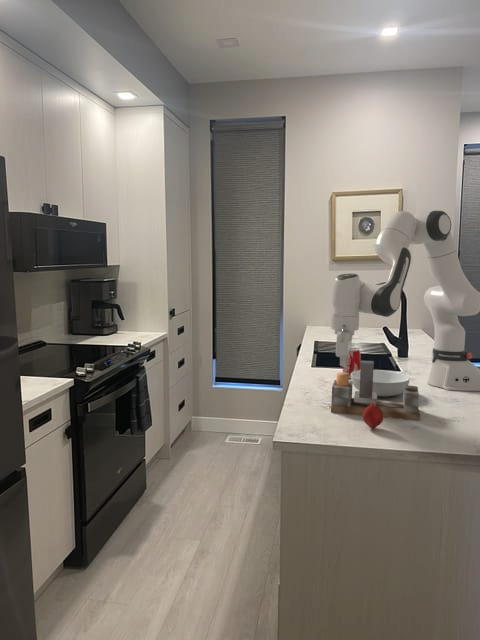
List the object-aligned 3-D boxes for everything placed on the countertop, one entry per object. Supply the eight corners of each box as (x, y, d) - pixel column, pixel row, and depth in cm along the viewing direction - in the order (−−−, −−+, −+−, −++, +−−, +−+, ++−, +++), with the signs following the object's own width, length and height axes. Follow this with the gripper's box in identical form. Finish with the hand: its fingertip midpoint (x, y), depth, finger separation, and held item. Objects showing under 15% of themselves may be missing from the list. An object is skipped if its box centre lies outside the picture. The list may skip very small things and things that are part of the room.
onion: (359, 425, 149) (360, 399, 148) (378, 425, 149) (379, 399, 148) (366, 432, 143) (367, 405, 142) (385, 431, 143) (387, 404, 142)
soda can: (360, 380, 204) (361, 351, 202) (342, 379, 205) (343, 350, 203) (359, 376, 210) (360, 348, 209) (342, 375, 212) (343, 347, 210)
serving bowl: (421, 397, 180) (422, 378, 179) (378, 405, 170) (379, 385, 169) (379, 384, 198) (379, 367, 197) (338, 390, 188) (338, 372, 187)
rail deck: (416, 409, 165) (418, 383, 164) (419, 420, 154) (421, 392, 153) (333, 401, 172) (334, 377, 171) (330, 412, 161) (331, 385, 160)
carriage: (376, 397, 166) (378, 360, 165) (376, 403, 159) (378, 365, 157) (355, 395, 168) (356, 358, 167) (354, 401, 161) (355, 363, 159)
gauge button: (348, 396, 167) (349, 372, 166) (347, 399, 163) (348, 375, 162) (336, 395, 168) (337, 372, 167) (335, 398, 164) (336, 374, 163)
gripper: (353, 328, 152) (351, 373, 153) (356, 320, 171) (354, 360, 173) (332, 327, 153) (330, 371, 155) (337, 319, 173) (335, 359, 175)
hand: (342, 365), depth 164 cm, fingers closed
